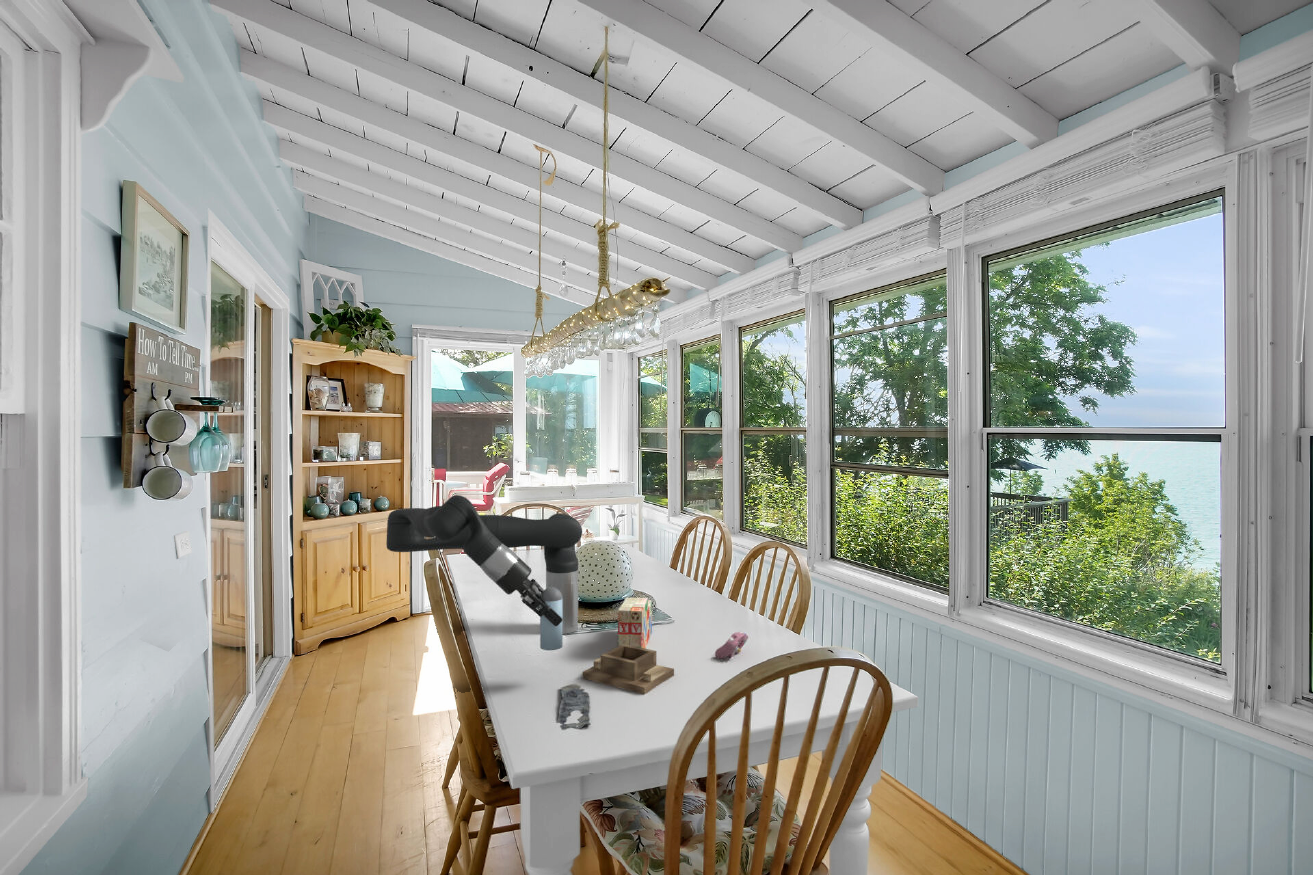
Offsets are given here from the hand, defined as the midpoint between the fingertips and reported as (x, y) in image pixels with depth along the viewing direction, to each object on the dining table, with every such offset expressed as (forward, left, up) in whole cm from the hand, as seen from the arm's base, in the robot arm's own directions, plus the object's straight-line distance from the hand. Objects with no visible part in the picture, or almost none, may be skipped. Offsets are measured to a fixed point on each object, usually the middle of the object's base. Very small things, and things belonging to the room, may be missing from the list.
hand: (559, 619), depth 145 cm
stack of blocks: (0, +32, -15) cm, 35 cm away
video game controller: (+26, +38, -15) cm, 48 cm away
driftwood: (+11, -8, -15) cm, 20 cm away
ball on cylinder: (-1, -1, -6) cm, 6 cm away
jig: (+12, +11, -14) cm, 22 cm away
